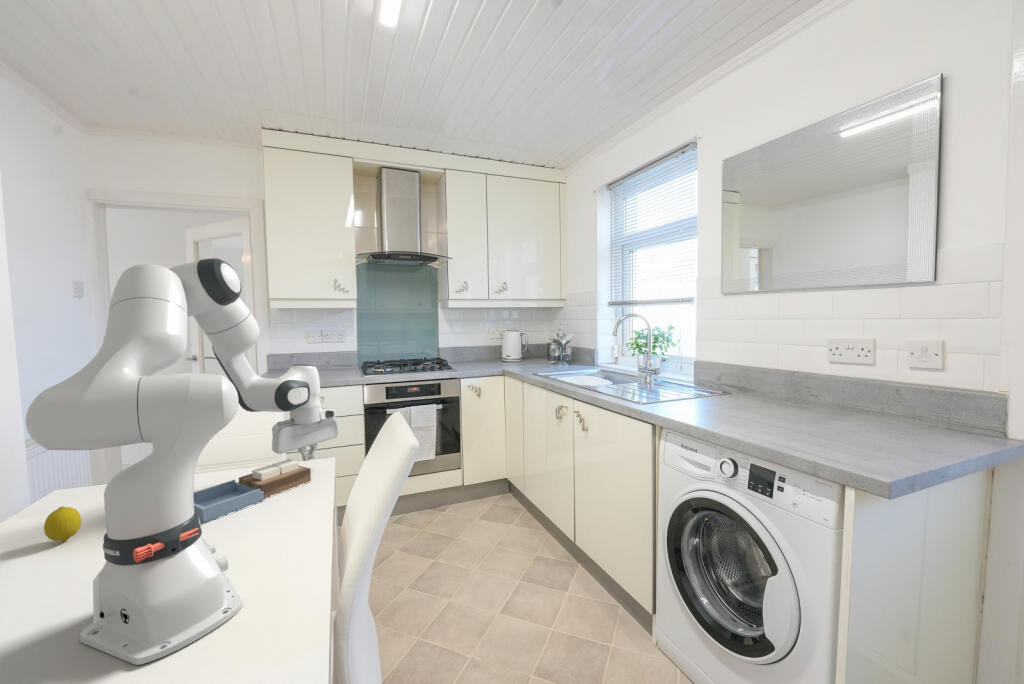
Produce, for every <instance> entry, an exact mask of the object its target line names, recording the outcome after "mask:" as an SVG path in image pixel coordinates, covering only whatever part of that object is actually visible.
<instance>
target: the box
mask: <svg viewBox="0 0 1024 684" xmlns="http://www.w3.org/2000/svg"><path fill="white" fill-rule="evenodd" d="M262 500H264V501H265V499H264V492H263V491H261V489H255V488H252V487H249V486H246V485H244V484H241V483H239V481H238V482H236V479H231V480H228V481H226V482H223V483H220V484H217V485H213V486H209V487H207V488H204V489H200V490H197V491H194V509H195V510H196V511H197V514H198V517H199V519H200V523H201V522H202V523H201V524H203V523H205V524H207V523H206V522H208V521H210V522H212V521H211V520H213V519H215V520H217V519H216V518H218V517H220V516H223V515H226V514H228V513H231V512H234V511H236V512H238V511H237V510H239V509H242V508H244V507H247V506H249V505H252V504H255V503H257V502H260V501H262ZM260 503H261V502H260ZM257 504H258V503H257ZM255 505H256V504H255ZM252 506H253V505H252ZM247 508H248V507H247ZM244 509H245V508H244ZM242 510H243V509H242ZM239 511H240V510H239ZM234 513H235V512H234ZM231 514H232V513H231ZM226 516H227V515H226ZM223 517H224V516H223ZM218 519H219V518H218ZM213 521H214V520H213ZM208 523H209V522H208Z"/></svg>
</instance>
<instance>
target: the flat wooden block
mask: <svg viewBox="0 0 1024 684" xmlns="http://www.w3.org/2000/svg"><path fill="white" fill-rule="evenodd" d="M298 467H299V468H298V469H295V470H292V471H289V472H286V473H283V474H281V473H280V475H277V476H274V477H271V478H268V479H265V480H259V479H256V478H253V475H252V473H249V474H246V475H243V476H240V477H238V483H241V484H244V485H246V486H249V487H252V488H255V489H261V491H263V492H264V498H266V497H269V496H271V495H274V494H277V493H280V492H282V491H285V490H288V489H290V488H293V487H296V486H298V485H300V484H303V483H306V482H309V481H311V482H312V477H311V474H312V473H311V468H310V467H307V466H306V467H305V466H303V465H299V464H298ZM309 483H310V482H309ZM306 484H307V483H306ZM298 487H299V486H298ZM296 488H297V487H296ZM293 489H294V488H293ZM290 490H291V489H290ZM288 491H289V490H288ZM285 492H286V491H285ZM282 493H283V492H282ZM280 494H281V493H280ZM277 495H278V494H277ZM274 496H275V495H274ZM269 498H270V497H269Z"/></svg>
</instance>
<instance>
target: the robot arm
mask: <svg viewBox="0 0 1024 684" xmlns="http://www.w3.org/2000/svg"><path fill="white" fill-rule="evenodd" d="M241 293H242V283H241V279H240V277H239V276H238V274H237V272H236V270H235V269H234V268H233V266H232V265H231V264H229V263H228V262H227V261H224V260H222V259H220V258H215V257H214V258H203V259H200V260H198V261H194V262H188V263H184V264H179V265H173V266H169V267H165V266H162V265H159V264H152V263H142V264H141V263H140V264H136V265H133V266H130V267H128V268H127V269H125V270H124V271H123V272H121V275H120V276H119V278H118V280H117V281H116V284H115V287H114V289H113V292H112V296H111V298H110V303H109V308H108V309H109V310H108V317H107V323H106V330H105V334H104V337H103V340H102V344H101V347H100V349H99V350H98V352H97V353H96V354H95V355H94V357H93V358H92V359H91V360H90V361H89V362H88V363H87V364H86V365H85V366H84V367H83V368H81V369H79V370H78V371H77V372H76V373H74V374H72V375H71V376H70V377H68V378H66V379H65V380H63V381H61V382H58V383H56V384H55V385H52V386H50V387H47V388H45V389H44V390H42V391H40V393H39V394H38V395H37V396H36V397H35V398H34V399H33V401H32V402H31V403H30V404H29V407H28V409H27V410H26V414H25V427H26V430H27V433H28V435H29V436H30V437H31V439H32V440H33V441H34V442H35V443H36V444H37V445H38V446H39V447H42V448H44V449H45V450H47V451H95V450H102V449H108V448H115V447H122V446H129V445H135V444H136V445H137V444H143V443H146V444H151V445H152V452H151V453H150V454H149V455H148V456H146V457H145V458H143V459H141V460H139V461H137V462H135V463H134V464H132V465H130V466H127V467H126V468H124V469H123V470H122V471H120V472H118V473H117V474H115V475H114V476H113V477H112V478H111V479H110V480H109V482H108V483H107V485H106V486H105V489H104V492H103V503H104V504H103V505H104V514H105V527H106V532H105V534H104V536H103V543H102V551H103V555H104V560H105V561H106V562H105V563H104V565H103V567H102V569H101V570H100V571H99V572H98V573H97V575H96V576H95V577H94V579H93V581H92V600H93V601H92V603H93V605H92V606H93V608H92V609H93V610H92V612H93V618H92V619H93V621H92V622H91V623H90V624H89V625H87V626H86V627H85V628H84V629H83V630H82V631H80V634H79V642H80V643H82V644H85V645H87V646H90V647H92V648H95V649H97V650H99V651H101V652H103V653H106V654H108V655H111V656H113V657H116V658H117V659H121V660H122V661H125V662H128V663H129V664H132V665H136V666H137V665H138V666H140V665H145V664H146V663H150V662H152V661H157V660H158V659H160V658H164V657H165V656H168V655H170V654H172V653H174V652H176V651H178V650H180V649H183V648H184V647H186V646H188V645H190V644H192V643H193V642H196V641H197V640H199V639H201V638H202V637H205V636H206V635H207V634H209V633H210V632H213V631H214V630H215V629H217V628H218V627H220V626H221V625H223V624H224V623H225V622H227V621H228V620H230V619H231V618H232V617H234V615H236V614H237V613H238V612H239V611H240V610H241V609H242V607H243V605H244V603H243V599H242V597H241V596H240V595H239V593H238V591H237V590H236V589H235V587H234V586H233V584H232V583H231V581H230V579H229V578H228V577H227V575H226V573H224V572H226V571H228V570H229V563H228V559H227V557H225V556H222V557H221V558H217V559H216V558H215V556H214V554H215V553H216V552H217V551H216V550H217V549H216V546H215V544H214V545H213V544H212V545H209V544H208V541H207V540H206V539H205V538H206V536H205V534H202V533H203V530H202V528H201V527H202V526H201V524H202V523H201V522H200V519H199V517H198V514H197V511H196V510H195V509H194V492H195V491H194V488H195V487H194V485H195V484H194V482H195V481H194V480H195V471H196V466H197V463H198V461H199V458H200V456H201V454H202V452H203V450H204V449H205V447H206V446H207V445H208V443H209V442H210V441H211V440H212V439H213V438H214V437H215V436H217V435H216V434H218V433H219V432H220V431H221V430H223V429H224V428H226V427H227V426H228V425H229V424H230V423H231V421H233V419H234V417H235V415H237V411H238V409H239V406H240V407H241V409H243V410H245V411H247V412H251V413H258V412H260V413H261V412H268V413H270V412H274V413H275V412H276V413H279V412H280V413H286V412H288V413H289V419H286V420H281V421H277V422H276V423H275V424H274V425H273V426H272V428H271V434H272V440H271V441H272V442H271V451H272V452H274V453H275V454H279V455H282V454H286V453H289V452H292V451H295V450H297V451H298V452H299V453H300V455H301V459H302V461H303V462H306V461H310V460H313V459H315V453H316V450H317V448H318V444H320V443H323V442H327V441H330V440H333V439H336V438H338V436H339V434H340V429H339V421H338V418H337V410H335V409H332V408H331V409H329V408H325V407H322V403H321V399H320V394H321V380H320V375H319V371H318V368H317V367H316V366H314V365H312V364H301V363H300V364H299V363H295V364H292V365H290V366H289V368H288V370H287V371H286V372H285V373H284V374H282V375H281V376H278V377H276V378H269V377H268V378H267V377H262V376H260V375H258V374H256V373H255V372H254V370H253V367H252V366H251V364H250V362H249V361H248V359H247V357H246V354H245V353H246V352H247V351H249V350H250V349H251V348H252V347H253V346H254V345H255V344H256V343H257V342H258V339H259V337H260V333H261V330H260V329H261V328H260V326H259V324H258V322H257V319H256V317H255V316H254V314H253V313H252V312H251V310H250V309H249V307H248V306H247V305H246V304H245V302H244V301H243V300H242V298H241V297H240V295H241ZM189 317H190V318H191V317H194V320H195V321H196V323H197V325H198V326H199V327H200V329H201V330H202V331H203V333H204V334H205V336H206V337H207V338H208V340H209V342H210V343H211V345H212V352H213V354H214V356H215V359H216V360H217V362H218V364H219V365H220V367H221V369H222V370H223V372H224V374H225V375H226V376H224V375H223V374H217V373H216V374H213V373H206V372H204V373H203V372H183V373H181V372H180V373H169V374H157V372H160V371H162V370H164V369H167V368H169V367H171V366H173V365H175V364H176V363H177V362H178V361H179V360H180V359H182V357H183V356H184V355H185V353H186V351H187V350H188V330H189V329H188V318H189ZM155 374H156V375H155ZM307 447H309V448H310V449H309V450H308V452H306V451H307Z"/></svg>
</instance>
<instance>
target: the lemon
mask: <svg viewBox="0 0 1024 684" xmlns="http://www.w3.org/2000/svg"><path fill="white" fill-rule="evenodd" d="M81 526H82V516H81V514H80V512H79V511H78V510H77V509H76V508H73V507H71V506H59V507H58V508H57V509H55V510H53V511H52V512H51V513H49V514H48V515H47V517H46V519H45V521H44V524H43V531H44V534H45V536H46V537H47V539H49V540H51V541H54V542H55V541H58V542H61V543H65V542H67V541H68V540H69V539H70V538H71V537H73V536H75V535H76V534H77V533H78V531H79V530H80V529H81Z"/></svg>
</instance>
